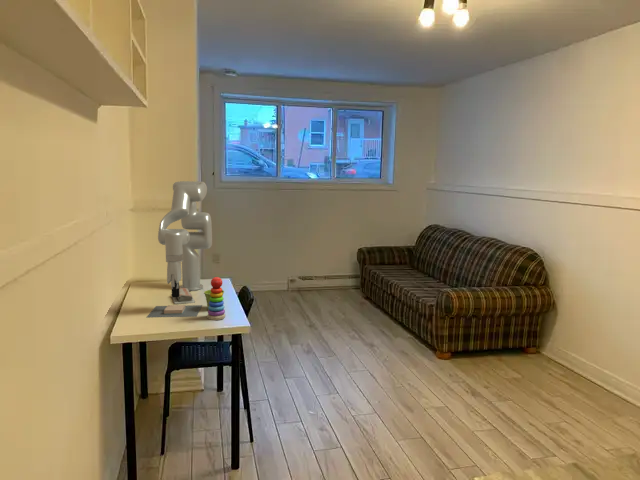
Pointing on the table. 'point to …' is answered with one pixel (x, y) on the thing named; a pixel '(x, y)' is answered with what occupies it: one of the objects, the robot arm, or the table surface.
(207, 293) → the plant pot
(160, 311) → the mat
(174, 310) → the tile
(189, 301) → the packaged product
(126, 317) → the table surface
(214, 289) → the stacking toy
